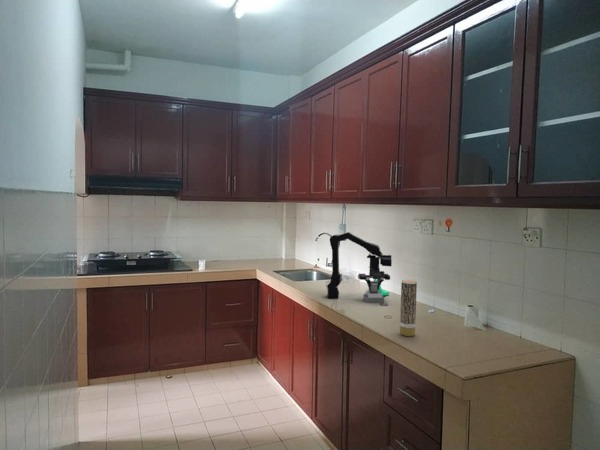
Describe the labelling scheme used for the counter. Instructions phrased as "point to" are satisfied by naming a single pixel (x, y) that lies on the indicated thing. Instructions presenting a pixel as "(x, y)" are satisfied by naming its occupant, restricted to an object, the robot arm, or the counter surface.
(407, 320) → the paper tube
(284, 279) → the counter surface
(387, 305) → the lens cap
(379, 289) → the camera mount
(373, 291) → the lens
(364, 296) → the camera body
